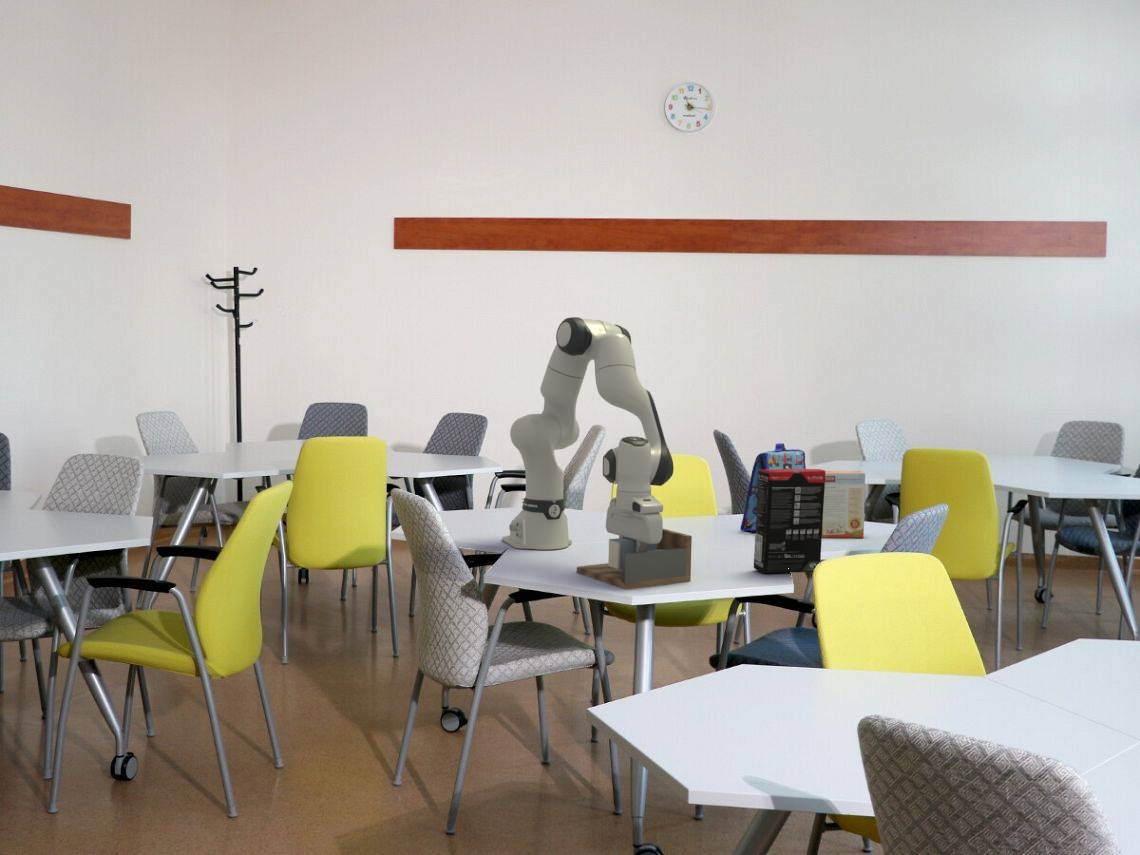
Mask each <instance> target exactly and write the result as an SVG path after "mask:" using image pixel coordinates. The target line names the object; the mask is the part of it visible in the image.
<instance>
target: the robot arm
mask: <svg viewBox="0 0 1140 855" xmlns="http://www.w3.org/2000/svg"><path fill="white" fill-rule="evenodd" d="M555 336H556V337H555V339H556V345H555V347H554V349H553V351H552V352H551V355H550V358H549V361H548V364H547V365H546V370H545V372H544V376H543V378H542V381H541V385H540V388H539V389H540V390H539V391H540V394H541V396H542V397H543V400H544V402H543V403H544V404H543V410H542V412H541V413H530V414H527V415H524V416H521V417H519V418H517V419H516V420H515V421H514V422H513V423H512V425H511V427H510V430H509V437H510V441H511V443H512V444H513V446H514V447H515V448H516V449H517V450H518V451H519V454H520V456H521V458H522V462H523V467H524V472H525V497H524V498H521V501H522V502H521V503H522V507H521V509H522V510H521V511H520V512H519V513H518V514H517V515H516V516H515V517H514V518H513V519H511V522H510V524H509V535H504V536H502V537H501V540H502V541H503V542H505V543H506V544H508V545H509V546H511V547H512V548H514V549H528V550H529V549H530V550H545V551H546V550H559V549H565V548H567V547H568V546H569V545H571V544H572V542H573V541H572V539H570V537H569V524H568V520H569V519H568V516H567V515H566V514H565V512H564V511H565V509H566V502H565V499H566V498H564V486H565V485H564V479H565V473H564V470H563V469H562V468H561V467H560V466H559V465H558V462H557V460H556V456H555V451H558V450H563V449H566V448H568V447H570V446H572V445H574V444H575V443H576V442H577V440H578V439H579V436H580V432H581V430H580V429H581V428H580V424H579V422H578V421H577V418H576V414H577V412H576V410H577V409H576V408H577V401H578V398H579V394H580V391H581V388H582V385H583V382H584V380H585V375H586V372H587V369H588V366H589V364H590V362H591V361H594V376H595V384H596V389H597V393H598V395H599V396H600V397H601V399H603V400H604V401H605V402H606V403H608V404H610V405H612V406H613V407H616V408H619V409H621V410H625V411H627V412H629V413H631V414H633V415H634V416H636V417H637V419H639V421H640V422H641V426H642V430H643V433H644V437H645V438H644V437H639V436H625V437H623V438H621V439H620V440H619V442H618V445H617V446H616V447H613V448H610V449H609V450H608V451H606V453H605V454H604V455H603V456H602V476H603V477H604V479H605V480H607V482H609V483H610V484H614V485H617V486H616V492H615V493H616V494H615V497H612V499H611V500H610V501H609V505H608V507H607V511H606V518H605V528H606V532H607V533H609V534H612V535H617V536H618V538H630V539H633V540H636V544H637V545H638V546H637V549H636V550H635V551H634V552H641V551H644V549H645V547H646V543H648V544H656V543H660V541H661V539H662V530H663V529H664V528H663V525H664V524H663V523H664V522H663V516H662V513H663V512H664V505H663V503H662V502H661V501H659V500H658V499H657V498H655V496H654V495H653V494H652V487H651V486H654V487H655V486H657V487H658V486H659V487H662V486H663V485H665V484H666V483H667V482H669V480H670V479H671V478H672V476H673V474H674V471H675V470H674V469H675V468H674V461H673V457H672V454H671V452H670V450H669V447H668V445H667V442H666V439H665V438H666V437H665V435H664V431H663V428H662V423H661V420H660V418H659V414H658V413H659V412H658V410H657V406H656V404H655V401H654V397H653V396H652V393H651V392H650V391H649V390H648V389H646V388H645V387H644V386H643V384H642V383H641V381H640V380H639V377H638V374H637V366H636V360H635V354H634V351H633V347H632V337H631V334H630V332H629V330H628V329H626V328H625V327H623V326H621V325H619V324H613V323H609V322H608V321H604V320H600V319H589V318H581V317H576V316H572V317H567V318H565V319H563V320H562V321H561V323H560V324H559V326H558V327H557V330H556V335H555Z"/></svg>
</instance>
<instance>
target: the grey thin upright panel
mask: <svg viewBox="0 0 1140 855" xmlns="http://www.w3.org/2000/svg"><path fill="white" fill-rule="evenodd" d="M686 555H687V548H684V547H680V548H670V549H660V550H650V551H641V552H631V553H622V578H621V582H623V583H631V582H639V581H647V580H656V579H664V578H672V577H681V576H686Z"/></svg>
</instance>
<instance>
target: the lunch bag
mask: <svg viewBox="0 0 1140 855" xmlns="http://www.w3.org/2000/svg"><path fill="white" fill-rule="evenodd" d="M764 469H807V467H806V452H805V451H803V450H802V449H797V448H796V449H794V448H793V449H791V448H790V449H787V448H786V447H785V443H783V442H782V443H781V442H780V443H779V442H777V443H775V447H774V450H769V451H766V452H761V453H758V454H757V456H756V458H755V460H754V463H753V466H752V471H751V474H750V480H749V485H748V489H747V490H748V491H747V494H746V499H745V504H744V510H743V514H742V515H743V517H742V521H741V524H740V531H743V532H745V531H747V532H748V531H749V532H753V533H754V532H755V533H756V515H757V494H758V473H759V470H764Z"/></svg>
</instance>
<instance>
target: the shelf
mask: <svg viewBox="0 0 1140 855" xmlns="http://www.w3.org/2000/svg"><path fill="white" fill-rule="evenodd" d="M692 539H693V536H692V535H690V534H686V533H682V532H679V531H674V530H669V529H665V528H663V530H662V539H661V541H660V543H657V550H660V549H670V548H680V547H684V548H687V555H686V576H681V577H672V578H664V579H656V580H647V581H639V582H631V583H623V582H621V578H622V569H618V570H617V569H614V568H611V567H609V566H608V564H609V562H607V563H599V564H590V565H589V564H587V565H581V566H579V565H577V566H576V573H577V574H580V575H583V576H586V577H589V578H591V579H595V580H598V581H600V582H603V583H605V584H606V583H607V584H609V585H611V586H615V587H617V588H619V589H623V590H631V589H637V588H638V589H639V588H645V587H647V588H648V587H654V586H662V585H663V586H664V585H670V584H671V585H672V584H679V583H688V582H692V581H691V578H692V577H691V576H692V575H691V574H692V573H691V572H692V542H693V541H692Z"/></svg>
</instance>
